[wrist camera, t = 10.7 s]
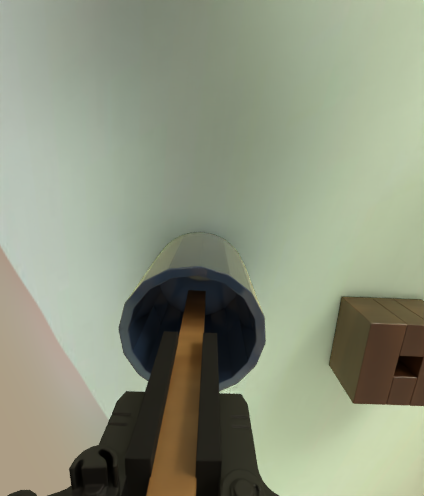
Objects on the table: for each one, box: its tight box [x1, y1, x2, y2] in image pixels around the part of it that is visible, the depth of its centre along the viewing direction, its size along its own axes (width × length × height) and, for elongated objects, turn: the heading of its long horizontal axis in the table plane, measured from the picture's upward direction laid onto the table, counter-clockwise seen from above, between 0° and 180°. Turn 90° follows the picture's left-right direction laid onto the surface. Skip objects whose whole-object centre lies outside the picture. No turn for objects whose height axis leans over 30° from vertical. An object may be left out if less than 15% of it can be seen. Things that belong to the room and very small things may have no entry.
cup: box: [119, 232, 266, 391], centre depth 21 cm, size 9×9×10 cm
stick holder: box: [329, 297, 424, 406], centre depth 25 cm, size 8×8×5 cm
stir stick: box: [146, 290, 206, 496], centre depth 13 cm, size 1×1×16 cm
